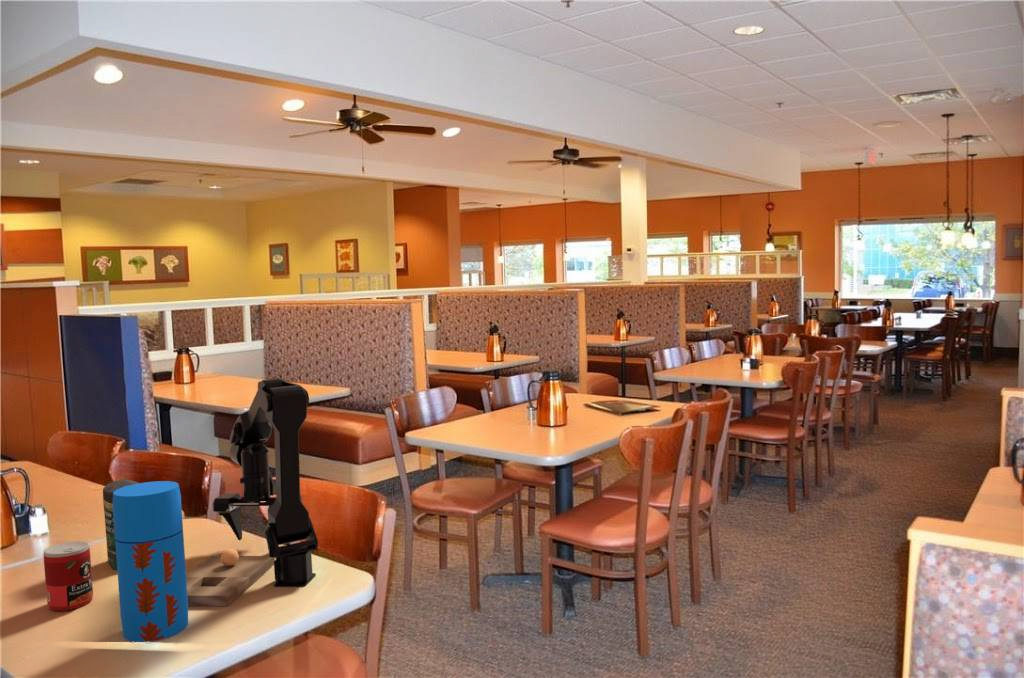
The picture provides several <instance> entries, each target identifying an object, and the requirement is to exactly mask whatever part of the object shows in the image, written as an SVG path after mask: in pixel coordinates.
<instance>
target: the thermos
mask: <svg viewBox="0 0 1024 678" xmlns="http://www.w3.org/2000/svg"><path fill="white" fill-rule="evenodd" d="M138 483H139V484H133V485H129V486H125V487H122V488H119V489H117V490H115V491H114V492H113V518H114V532H115V545H116V559H117V570H116V573H117V582H118V583H117V587H118V599H119V610H120V621H121V629H122V635H123V638H124V639H125V640H126V641H128V642H132V643H151V642H156V641H160V640H164V639H165V640H166V639H169V638H171V637H173V636H175V635H178V634H180V633H182V632H183V631H184V630H186V629H187V627H188V626H189V606H188V596H187V581H186V574H187V570H186V569H187V568H186V555H185V539H184V526H183V509H182V508H183V507H182V495H181V489H180V485H179V484H180V483H178V482H175V481H169V480H166V481H165V480H161V481H160V480H159V481H147V482H141V483H140V482H138Z"/></svg>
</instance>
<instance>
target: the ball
mask: <svg viewBox="0 0 1024 678" xmlns="http://www.w3.org/2000/svg"><path fill="white" fill-rule="evenodd" d="M220 556H221V562H222V563H223V564H224V565H226V566H232V565H234V564H236V563H237V561H238V558H239V556H240V555H239V552H238V551H237V550H236V549H235V548H227V549H225V550H223V552H222V553H221V555H220Z"/></svg>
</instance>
